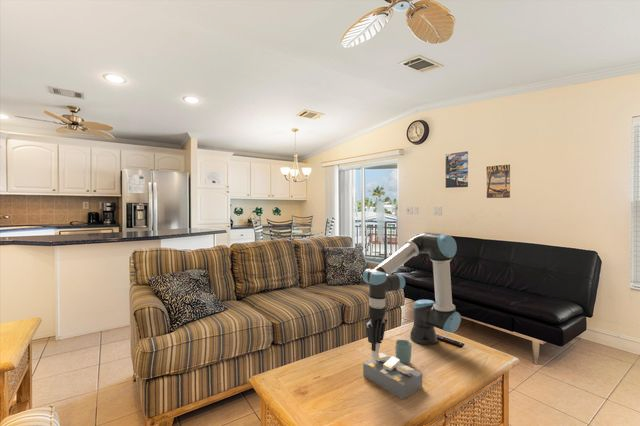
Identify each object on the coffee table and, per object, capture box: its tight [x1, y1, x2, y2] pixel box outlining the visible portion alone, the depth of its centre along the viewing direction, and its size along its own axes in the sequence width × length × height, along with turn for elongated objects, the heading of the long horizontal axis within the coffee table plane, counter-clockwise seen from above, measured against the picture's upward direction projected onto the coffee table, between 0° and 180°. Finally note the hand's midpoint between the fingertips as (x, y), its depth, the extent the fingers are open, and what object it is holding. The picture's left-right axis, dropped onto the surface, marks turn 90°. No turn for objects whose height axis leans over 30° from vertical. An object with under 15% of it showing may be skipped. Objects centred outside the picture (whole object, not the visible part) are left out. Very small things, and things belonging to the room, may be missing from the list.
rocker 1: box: [371, 352, 390, 361], centre depth 144 cm, size 7×4×2 cm, turn 129°
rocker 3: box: [397, 365, 415, 374], centre depth 133 cm, size 7×4×2 cm, turn 129°
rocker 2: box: [383, 355, 400, 371], centre depth 138 cm, size 7×4×2 cm, turn 128°
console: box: [362, 356, 423, 400], centre depth 138 cm, size 14×22×7 cm, turn 39°
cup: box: [395, 339, 413, 365], centre depth 155 cm, size 8×8×10 cm
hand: (375, 356), depth 141 cm, fingers closed
